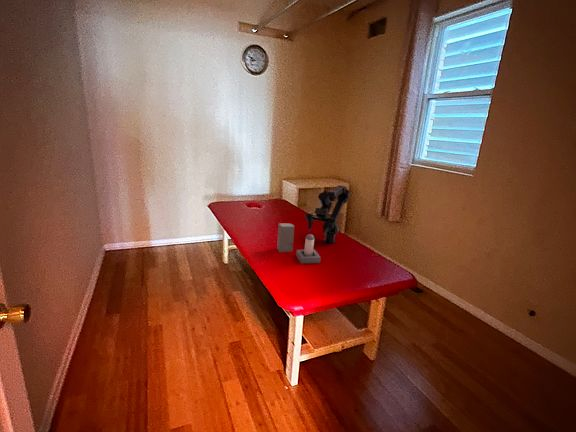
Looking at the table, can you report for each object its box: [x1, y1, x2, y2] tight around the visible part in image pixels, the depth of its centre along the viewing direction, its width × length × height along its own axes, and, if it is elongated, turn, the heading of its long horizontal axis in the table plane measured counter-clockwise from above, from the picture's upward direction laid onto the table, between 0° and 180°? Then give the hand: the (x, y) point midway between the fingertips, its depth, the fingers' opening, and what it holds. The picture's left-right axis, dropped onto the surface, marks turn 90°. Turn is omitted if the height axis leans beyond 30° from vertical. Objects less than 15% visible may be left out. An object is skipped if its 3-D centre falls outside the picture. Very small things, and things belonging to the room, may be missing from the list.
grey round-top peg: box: [303, 233, 315, 256], centre depth 175 cm, size 5×5×13 cm
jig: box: [295, 248, 322, 264], centre depth 177 cm, size 11×11×3 cm
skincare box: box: [276, 222, 295, 253], centre depth 185 cm, size 8×7×16 cm
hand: (316, 232), depth 180 cm, fingers open, 9 cm apart
